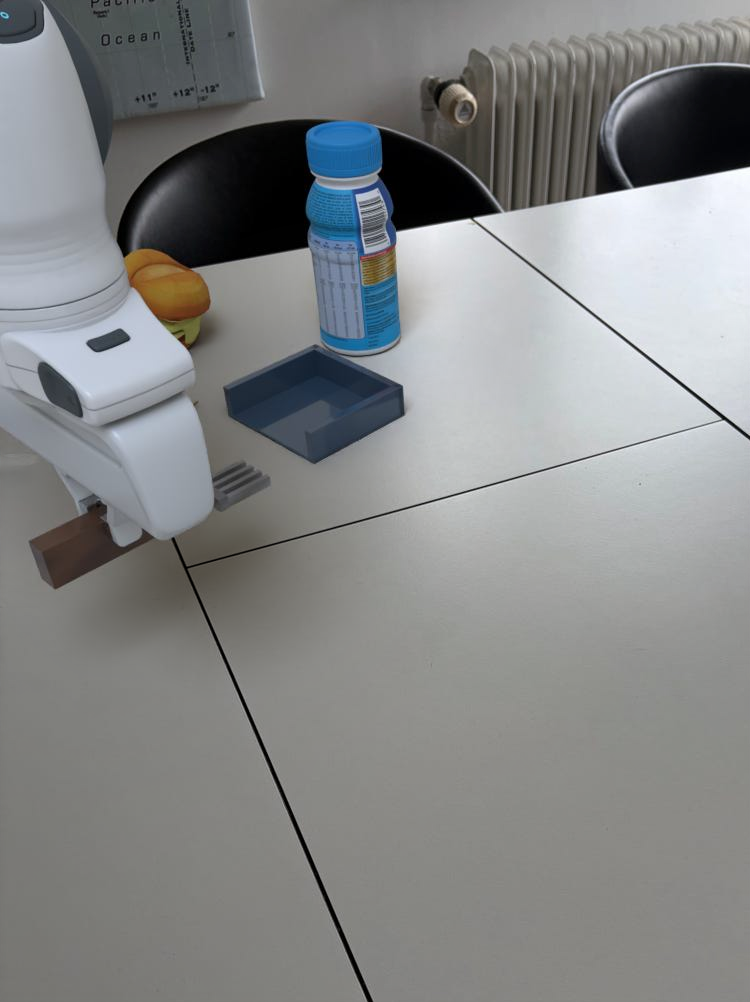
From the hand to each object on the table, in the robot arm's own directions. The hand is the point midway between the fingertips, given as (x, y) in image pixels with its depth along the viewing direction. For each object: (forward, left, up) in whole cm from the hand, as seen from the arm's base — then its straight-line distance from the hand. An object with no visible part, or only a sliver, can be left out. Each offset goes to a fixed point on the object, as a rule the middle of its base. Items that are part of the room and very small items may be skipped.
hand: (112, 528), depth 66 cm
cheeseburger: (-37, +27, -10) cm, 47 cm away
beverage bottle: (-22, +41, -10) cm, 48 cm away
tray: (-14, +28, -10) cm, 33 cm away
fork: (0, +4, -2) cm, 4 cm away
